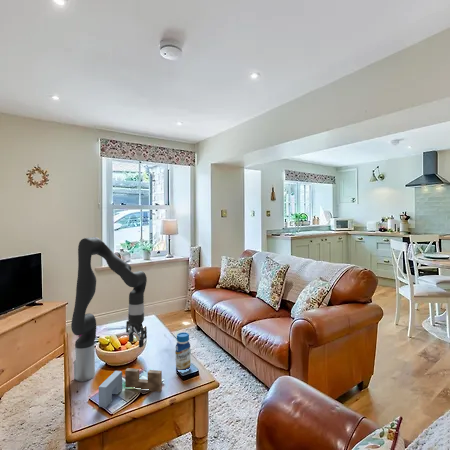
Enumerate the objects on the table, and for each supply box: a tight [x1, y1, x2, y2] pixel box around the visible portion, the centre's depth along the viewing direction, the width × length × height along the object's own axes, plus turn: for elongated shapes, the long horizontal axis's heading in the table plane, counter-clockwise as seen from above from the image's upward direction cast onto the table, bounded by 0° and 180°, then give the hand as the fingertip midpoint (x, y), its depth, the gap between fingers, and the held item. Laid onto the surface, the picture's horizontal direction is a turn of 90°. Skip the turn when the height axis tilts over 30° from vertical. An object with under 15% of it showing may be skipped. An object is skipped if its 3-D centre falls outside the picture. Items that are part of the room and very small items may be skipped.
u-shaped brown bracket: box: [124, 367, 163, 393], centre depth 142 cm, size 18×2×9 cm, turn 81°
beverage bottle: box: [175, 331, 192, 371], centre depth 159 cm, size 8×8×20 cm
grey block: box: [98, 370, 123, 408], centre depth 135 cm, size 4×14×9 cm, turn 170°
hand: (136, 344), depth 143 cm, fingers open, 8 cm apart
